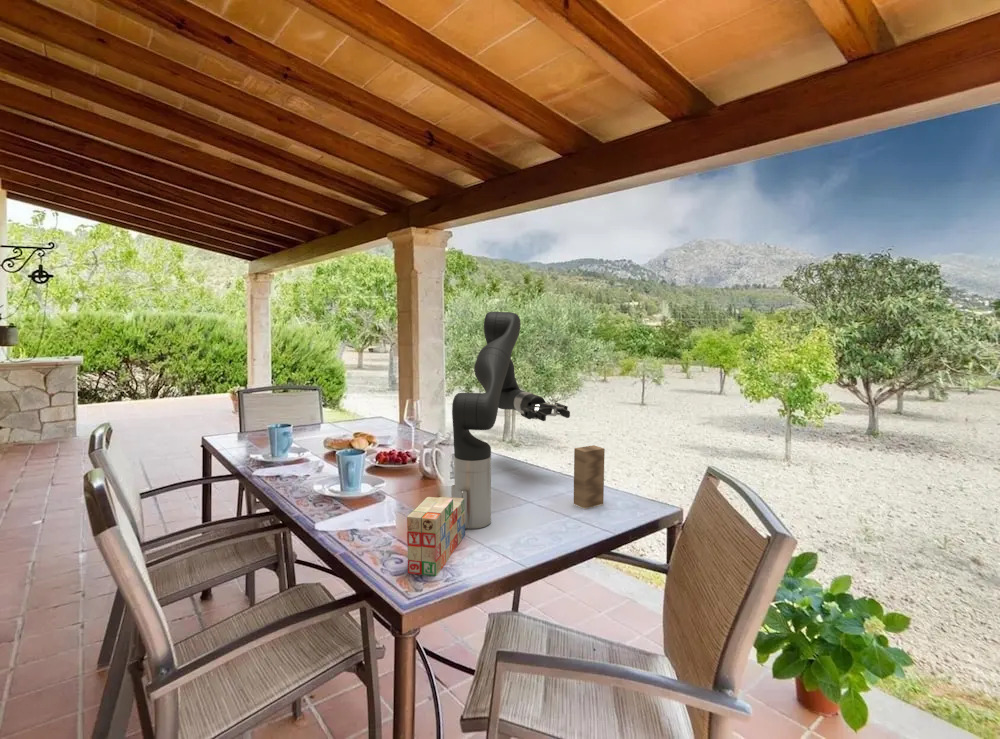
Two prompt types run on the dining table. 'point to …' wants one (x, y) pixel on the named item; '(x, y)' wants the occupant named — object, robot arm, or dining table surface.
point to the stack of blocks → (434, 533)
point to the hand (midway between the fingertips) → (557, 416)
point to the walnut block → (588, 476)
